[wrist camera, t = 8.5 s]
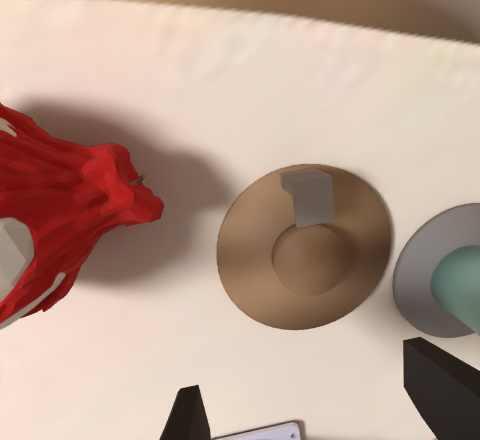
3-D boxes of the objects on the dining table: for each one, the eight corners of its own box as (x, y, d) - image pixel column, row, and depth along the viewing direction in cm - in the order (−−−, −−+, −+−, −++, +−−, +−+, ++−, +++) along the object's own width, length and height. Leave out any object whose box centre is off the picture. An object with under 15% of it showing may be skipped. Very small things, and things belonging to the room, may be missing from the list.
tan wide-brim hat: (387, 306, 23) (418, 338, 20) (232, 339, 23) (237, 377, 19) (383, 148, 20) (419, 154, 16) (200, 182, 19) (199, 196, 16)
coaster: (520, 317, 25) (527, 322, 24) (393, 344, 24) (398, 350, 24) (535, 190, 22) (544, 192, 21) (391, 218, 21) (396, 221, 21)
